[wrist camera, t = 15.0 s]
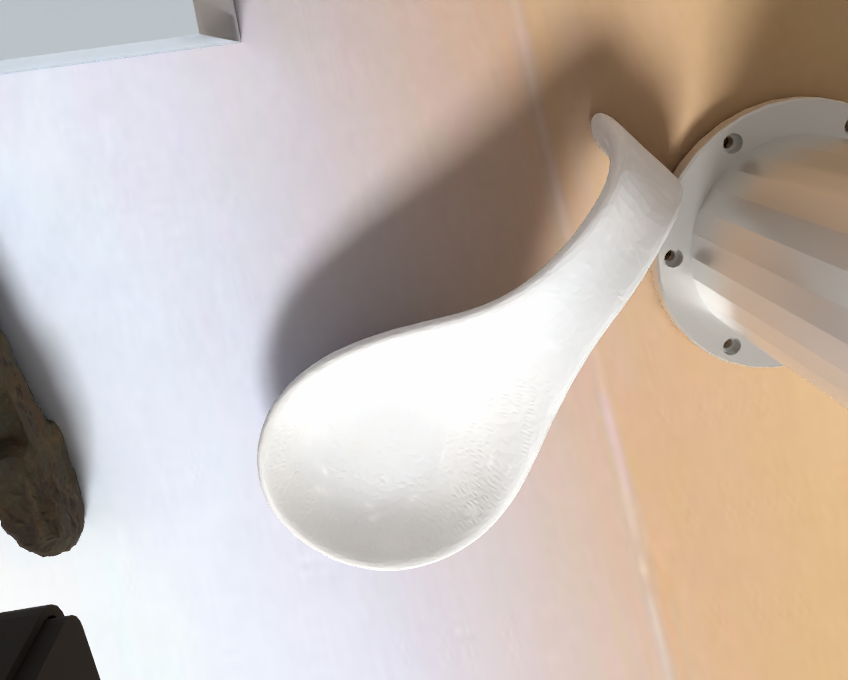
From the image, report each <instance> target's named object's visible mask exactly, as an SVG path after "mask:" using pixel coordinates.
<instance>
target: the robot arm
mask: <svg viewBox="0 0 848 680" xmlns="http://www.w3.org/2000/svg"><path fill="white" fill-rule="evenodd" d="M846 122H847V125H846V127H845V124H846ZM844 127H845V128H844ZM726 137H728V140H729V141H728V144H727V145H726V146H725V147H723V143H724V139H725V138H726ZM673 175H675V176H676V177H677V178H678V180H679V181H680V184H681V187H682V190H683V195H682V201H681V205H680V209H679V212H678V215H677V217H676V220H675V222H674V224H673V226H672V228H671V230H670V232H669V234H668V236H667V238H666V240H665V241H664V243H663V245H662V246H661V248H660V250H659V252H658V254H657V256H656V257H655V259H654V261H653V262H652V264H651V272H652V277H653V283H654V287H655V290H656V292H657V295H658V297H659V300H660V302H661V305H662V307H663V309H664V310H665V312H666V313H667V315H668V316H669V318H670V319H671V321H672V322H673V323H674V325H675V326H676V327H677V328H678V329H679V330H680V331H681V332H682V333H683V334H684V335H685V336H686V337H687V338H688V339H689V340H691V341H692V342H693V343H694V344H696V345H697V346H699V347H700V348H701V349H703V350H704V351H705V352H707V353H708V354H710V355H712V356H714V357H717V358H719V359H721V360H723V361H725V362H728V363H732V364H737V365H741V366H746V367H750V368H778V367H785V366H786V367H787V368H788V369H790V370H791V371H793V372H794V373H796V374H797V375H799V376H800V377H801V378H803V379H804V380H806V381H807V382H809V383H810V384H812V385H813V386H815V387H816V388H817V389H819V390H820V391H822V392H823V393H825V394H826V395H828V396H829V397H830V398H832V399H833V400H835V401H836V402H838V403H839V404H841V405H842V406H844V407H845V408H846V409H848V103H847V102H844V101H839V100H833V99H827V98H822V97H801V96H796V97H789V98H782V99H775V100H770V101H767V102H764V103H761V104H758V105H755V106H752V107H749V108H747V109H744V110H742V111H741V112H739V113H737V114H735V115H734V116H732V117H730V118H728V119H727V120H725V121H723V122H721V123H720V124H719V125H717V126H716V127H715V128H714V129H713V130H711V131H710V132H709V133H708V134H706V135H705V136H704V137H703V138H702V139H700V140H699V141H698V142H697V143H696V145H695V146H694V147H693V148H692V149H691V150H690V151H689V153H688V154H687V155H686V156H685V157H684V158H683V160H682V161H681V162H680V163H679V165H678V167H677V168H676V170H675V172H674V173H673ZM669 250H671V255H670V257H669V258H667V259H664V258H665V255H666V253H667V252H668V251H669ZM727 340H728V341H727ZM726 341H727V343H726V344H724V343H725V342H726ZM0 680H100V677H99V674H98V671H97V668H96V665H95V662H94V659H93V656H92V653H91V650H90V647H89V644H88V641H87V638H86V635H85V632H84V629H83V626H82V624H81V622H80V620H79V619H78V618H77V617H76V616H73V615H70V616H64V614H63V612H62V611H61V610H60V608H59V607H58V606H56V605H52V604H51V605H45V606H39V607H32V608H26V609H20V610H14V611H8V612H2V613H0Z"/></svg>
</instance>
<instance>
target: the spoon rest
mask: <svg viewBox="0 0 848 680" xmlns="http://www.w3.org/2000/svg"><path fill="white" fill-rule="evenodd" d="M591 131H592V135H593V137H594V139H595V141H596V143H597V144H598V146H599V147H600V148H601V149H602V151H603V152H604V153H605V154H606V155H607V156H608V157H609V158H610V166H609V173H608V177H607V181H606V183H605V186H604V188H603V190H602V192H601V194H600V196H599V198H598V199H597V201H596V203H595V205H594V206H593V208H592V209H591V211H590V212H589V214H588V215H587V217H586V218H585V220H584V221H583V223H582V224H581V225H580V227H579V228H578V230H577V231H576V232H575V233H574V235H573V236H572V237H571V238H570V240H569V241H568V242H567V243H566V244H565V245H564V246H563V248H562V249H561V250H560V251H559V252H558V253H557V254H556V255H555V256H554V257H553V258H552V259H551V260H550V261H549V262H548V263H547V264H546V265H545V266H544V267H543V268H542V269H541V270H540V271H539V272H537V273H536V274H535V275H534V276H533V277H531V278H530V279H529V280H527V281H526V282H525V283H523V284H522V285H521V286H519V287H517V288H516V289H514V290H513V291H511V292H509V293H508V294H506V295H504V296H502V297H500V298H498V299H496V300H494V301H491V302H489V303H487V304H484V305H482V306H479V307H476V308H473V309H470V310H467V311H464V312H460V313H456V314H453V315H449V316H445V317H441V318H437V319H432V320H428V321H424V322H420V323H416V324H412V325H408V326H404V327H400V328H396V329H393V330H390V331H387V332H383V333H380V334H377V335H374V336H371V337H368V338H365V339H362V340H360V341H357V342H355V343H352V344H350V345H348V346H345V347H343V348H341V349H339V350H336V351H334V352H333V353H331V354H329V355H327V356H325V357H324V358H322V359H320V360H318V361H317V362H315V363H314V364H313V365H311V366H310V367H309V368H307V369H306V370H305V371H303V372H302V373H301V374H300V375H298V376H297V377H296V378H295V379H294V380H293V381H292V382H291V383H290V384H289V385H288V386H287V387H286V388H285V389H284V391H283V392H282V393H281V394H280V395H279V397H278V398H277V399H276V401H275V402H274V404H273V405H272V407H271V409H270V411H269V413H268V415H267V417H266V420H265V422H264V424H263V428H262V431H261V434H260V439H259V445H258V455H257V464H258V474H259V480H260V483H261V487H262V490H263V493H264V495H265V497H266V500H267V502H268V504H269V506H270V508H271V509H272V511H273V512H274V513H275V515H276V516H277V518H278V519H279V520H280V522H281V523H282V524H283V525H284V526H285V527H286V528H287V529H288V530H289V531H290V532H291V533H292V534H294V535H295V536H296V537H297V538H298V539H300V540H301V541H302V542H304V543H305V544H307V545H308V546H309V547H311V548H313V549H314V550H316V551H318V552H319V553H321V554H323V555H325V556H327V557H329V558H331V559H333V560H336V561H338V562H341V563H344V564H348V565H351V566H355V567H360V568H364V569H371V570H382V571H395V570H404V569H411V568H416V567H420V566H424V565H428V564H431V563H434V562H437V561H439V560H442V559H444V558H446V557H448V556H450V555H452V554H454V553H456V552H458V551H460V550H461V549H463V548H465V547H466V546H468V545H469V544H471V543H472V542H474V541H475V540H476V539H478V538H479V537H480V536H482V535H483V534H484V533H485V532H486V531H487V530H488V529H489V528H490V527H491V526H492V525H493V524H494V523H495V522H496V521H497V520H498V519H499V517H500V516H501V515H502V514H503V512H504V511H505V510H506V509H507V508H508V506H509V505H510V504H511V502H512V501H513V499H514V498H515V496H516V495H517V493H518V491H519V490H520V488H521V486H522V484H523V483H524V481H525V479H526V477H527V475H528V473H529V471H530V469H531V467H532V465H533V463H534V461H535V458H536V456H537V454H538V452H539V450H540V448H541V446H542V444H543V441H544V439H545V437H546V435H547V433H548V430H549V428H550V426H551V424H552V422H553V419H554V418H555V416H556V413H557V411H558V409H559V407H560V405H561V403H562V402H563V400H564V398H565V396H566V394H567V391H568V389H569V388H570V386H571V384H572V382H573V381H574V379H575V377H576V376H577V374H578V372H579V371H580V369H581V367H582V366H583V364H584V362H585V360H586V359H587V357H588V356H589V354H590V353H591V351H592V350H593V348H594V346H595V345H596V344H597V342H598V341H599V339H600V338H601V336H602V335H603V334H604V332H605V331H606V329H607V328H608V327H609V325H610V324H611V323H612V321H613V320H614V319H615V317H616V316H617V315H618V313H619V312H620V311H621V309H622V308H623V306H624V305H625V304H626V302H627V301H628V299H629V298H630V297H631V295H632V294H633V292H634V291H635V289H636V288H637V286H638V284H639V283H640V282H641V280H642V279H643V277H644V275H645V274H646V272H647V270H648V269H649V267H650V266H651V264H652V262H653V261H654V259H655V257H656V256H657V254H658V252H659V250H660V248H661V246H662V245H663V243H664V241H665V240H666V238H667V236H668V234H669V232H670V230H671V228H672V226H673V224H674V222H675V220H676V217H677V215H678V212H679V209H680V205H681V201H682V195H683V190H682V187H681V184H680V181H679V180H678V178H677V177H676V176H675V175H673V174H672V173H671V172H670V171H669V170H668V169H667V168H666V167H665V166H664V165H663V164H662V163H661V162H660V161H659V160H657V159H656V158H655V157H654V156H653V155H652V154H651V153H650V152H649V151H648V150H646V149H645V148H644V147H643V146H642V145H641V144H640V143H639V142H638V141H637V140H636V139H635V138H634V137H633V136H632V135H630V134H629V133H628V132H627V131H626V130H625V129H624V128H623V127H622V126H621V125H620V124H619V123H618V122H617V121H615V120H614V119H613V118H612V117H610V116H608V115H606V114H604V113H596V114H594V116H593V118H592V120H591Z"/></svg>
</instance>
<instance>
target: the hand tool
mask: <svg viewBox="0 0 848 680" xmlns="http://www.w3.org/2000/svg"><path fill="white" fill-rule="evenodd" d="M0 520H1V526H2V528H3V529H4V530H5V531H6V533H7V534H9V535H11V536H12V537H13V538H14V539H15V540H16V541H17V543H18V545H19V546H20V547H22V548H24V549H26V550H28V551H29V552H34V553H35V554H38V555H40V556H42V557H46V556H49V557H50V556H55V555H59V554H61V553H62V552H66V551H69V550H70V549H71V548H72V547H73V546H74V545H76V544H77V542H78V540H79V538H80V535H81V533H82V531H83V528H84V523H85V521H84V511H83V503H82V500H81V495H80V490H79V486H78V482H77V477H76V474H75V470H74V469H73V468H72V466H71V462H70V459H69V456H68V452H67V449H66V446H65V442H64V439H63V436H62V433H61V431H60V429H59V427H58V426H57V425H56V424H55V422H53V421H48V420H46V419H45V418H44V417H43V415H42V412H41V410H40V409H39V407H38V405H37V404H36V402H35V400H34V398H33V396H32V394H31V392H30V389H29V387H28V385H27V383H26V381H25V379H24V377H23V375H22V373H21V371H20V369H19V367H18V365H17V363H16V361H15V359H14V357H13V353H12V350H11V348H10V346H9V343H8V341H7V339H6V337H5V335H4V334H3V333H2V331H1V330H0Z"/></svg>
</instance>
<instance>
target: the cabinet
mask: <svg viewBox="0 0 848 680" xmlns="http://www.w3.org/2000/svg"><path fill="white" fill-rule="evenodd" d="M240 42H241V38H240V33H239V28H238V23H237V17H236V12H235V7H234V2H233V0H0V74H7V73H14V72H22V71H29V70H37V69H44V68H52V67H59V66H67V65H74V64H82V63H89V62H97V61H104V60H112V59H119V58H127V57H134V56H142V55H149V54H157V53H164V52H172V51H179V50H187V49H194V48H202V47H209V46H217V45H225V44H232V43H240Z"/></svg>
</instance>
